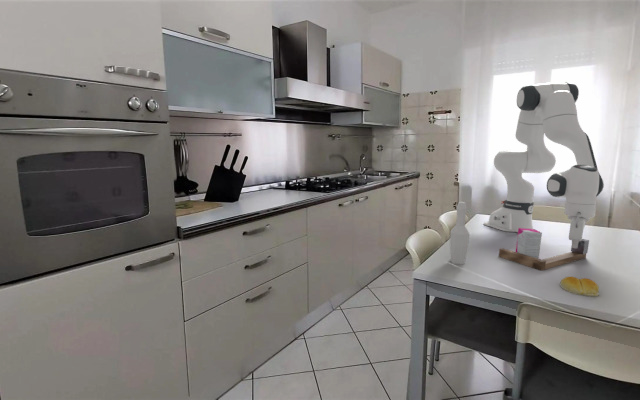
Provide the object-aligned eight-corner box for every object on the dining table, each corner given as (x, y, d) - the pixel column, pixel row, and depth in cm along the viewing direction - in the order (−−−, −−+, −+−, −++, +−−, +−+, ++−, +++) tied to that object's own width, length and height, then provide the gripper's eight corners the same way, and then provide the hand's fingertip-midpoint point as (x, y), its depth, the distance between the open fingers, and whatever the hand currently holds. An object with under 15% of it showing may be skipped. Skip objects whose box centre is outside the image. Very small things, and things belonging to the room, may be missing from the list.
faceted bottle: (445, 259, 124) (449, 200, 120) (463, 259, 124) (467, 200, 120) (451, 265, 118) (456, 203, 114) (470, 266, 117) (475, 204, 114)
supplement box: (538, 263, 120) (542, 232, 118) (521, 262, 121) (524, 231, 119) (531, 258, 126) (534, 228, 124) (514, 257, 126) (517, 227, 125)
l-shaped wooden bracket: (498, 256, 126) (500, 238, 125) (542, 246, 139) (544, 229, 138) (542, 271, 112) (545, 250, 111) (587, 258, 125) (589, 240, 124)
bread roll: (559, 283, 104) (560, 270, 103) (596, 290, 99) (598, 277, 99) (560, 293, 97) (562, 279, 97) (600, 300, 92) (602, 287, 92)
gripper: (590, 216, 111) (584, 256, 114) (591, 207, 127) (586, 242, 129) (566, 213, 115) (561, 252, 118) (570, 205, 131) (565, 240, 133)
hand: (574, 247), depth 124 cm, fingers closed
